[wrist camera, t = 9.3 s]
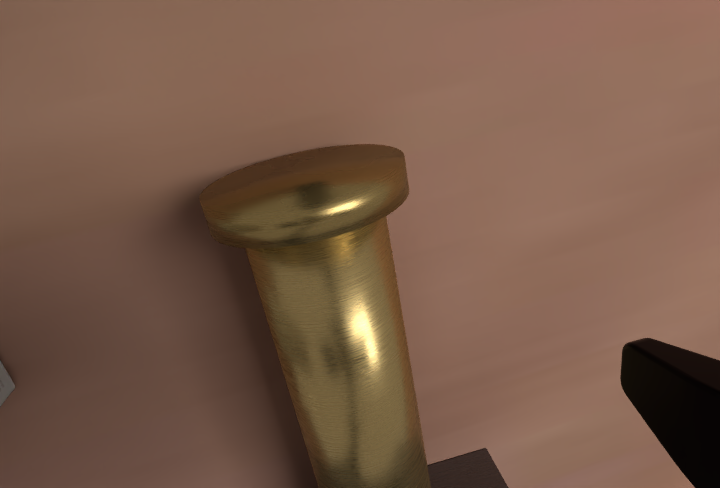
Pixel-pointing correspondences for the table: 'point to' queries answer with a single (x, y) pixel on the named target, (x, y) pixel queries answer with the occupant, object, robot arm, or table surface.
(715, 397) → the robot arm
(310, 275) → the brass cylinder
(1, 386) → the supplement box
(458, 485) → the housing
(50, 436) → the table surface
